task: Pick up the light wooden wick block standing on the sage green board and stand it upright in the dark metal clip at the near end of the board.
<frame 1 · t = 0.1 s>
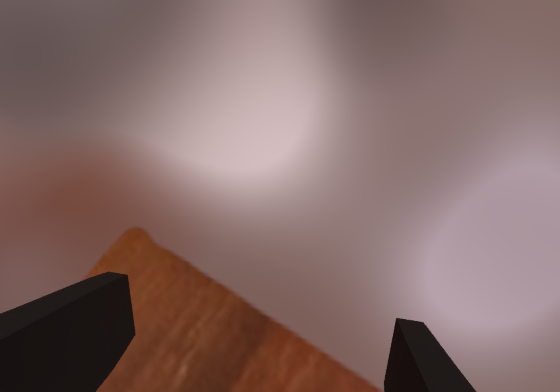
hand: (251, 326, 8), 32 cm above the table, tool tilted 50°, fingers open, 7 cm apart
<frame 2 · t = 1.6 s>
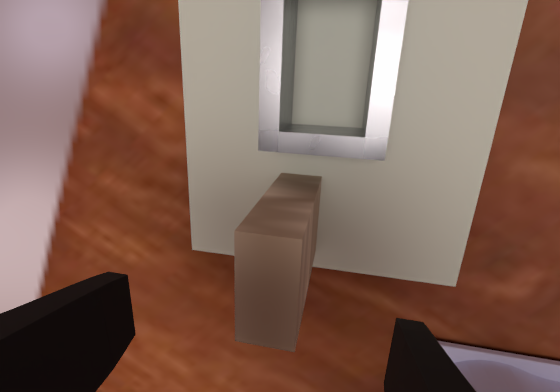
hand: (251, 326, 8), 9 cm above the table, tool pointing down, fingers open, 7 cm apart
wick clip: (332, 66, 15), resting on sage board
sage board: (326, 131, 16), on the table
wooden wick: (299, 212, 16), point 1 cm above the table, touching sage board
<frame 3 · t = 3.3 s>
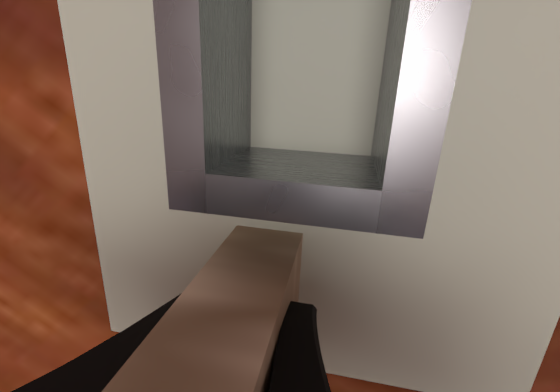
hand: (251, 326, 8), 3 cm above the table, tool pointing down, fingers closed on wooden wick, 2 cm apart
wick clip: (319, 48, 9), resting on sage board
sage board: (311, 158, 10), on the table
wooden wick: (267, 286, 10), point 1 cm above the table, touching gripper, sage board
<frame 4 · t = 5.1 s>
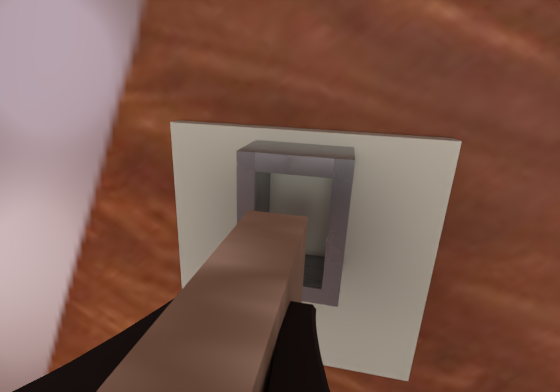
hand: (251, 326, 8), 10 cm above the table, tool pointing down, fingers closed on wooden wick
wick clip: (302, 202, 18), resting on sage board
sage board: (298, 250, 19), on the table
wooden wick: (275, 266, 11), point 7 cm above the table, touching gripper
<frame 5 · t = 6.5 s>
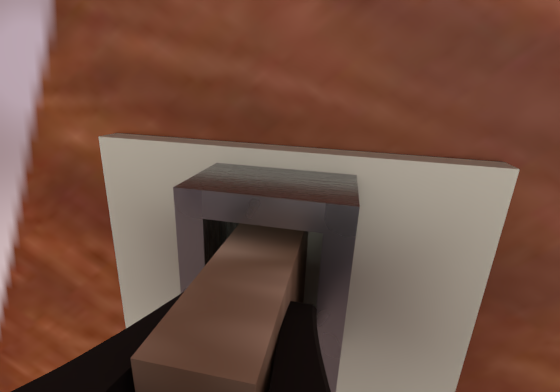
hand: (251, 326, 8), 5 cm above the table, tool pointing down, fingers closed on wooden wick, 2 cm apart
wick clip: (284, 245, 13), resting on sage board
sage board: (281, 307, 14), on the table
wooden wick: (279, 258, 12), point 1 cm above the table, touching gripper, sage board
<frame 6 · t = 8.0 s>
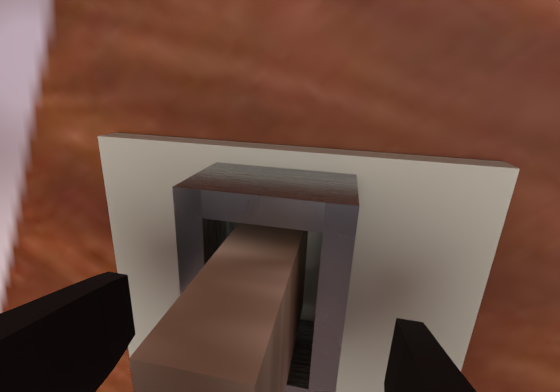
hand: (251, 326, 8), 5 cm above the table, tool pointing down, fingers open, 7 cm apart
wick clip: (284, 245, 13), resting on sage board
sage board: (281, 307, 14), on the table
wooden wick: (279, 257, 12), point 1 cm above the table, touching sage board
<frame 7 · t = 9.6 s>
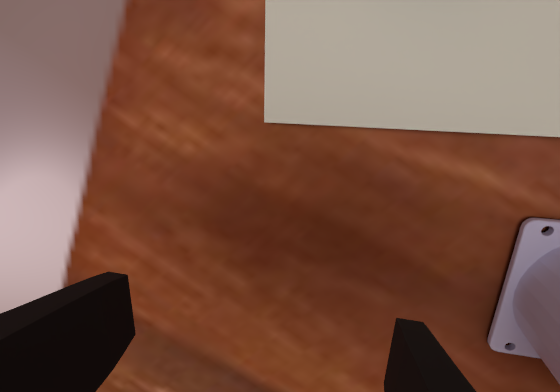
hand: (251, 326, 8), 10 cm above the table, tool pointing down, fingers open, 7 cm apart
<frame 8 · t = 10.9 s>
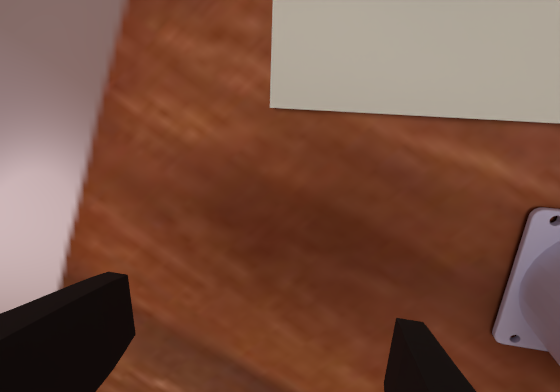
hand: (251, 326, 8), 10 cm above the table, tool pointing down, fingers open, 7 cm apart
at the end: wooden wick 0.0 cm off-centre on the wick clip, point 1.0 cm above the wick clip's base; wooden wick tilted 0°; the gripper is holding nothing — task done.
